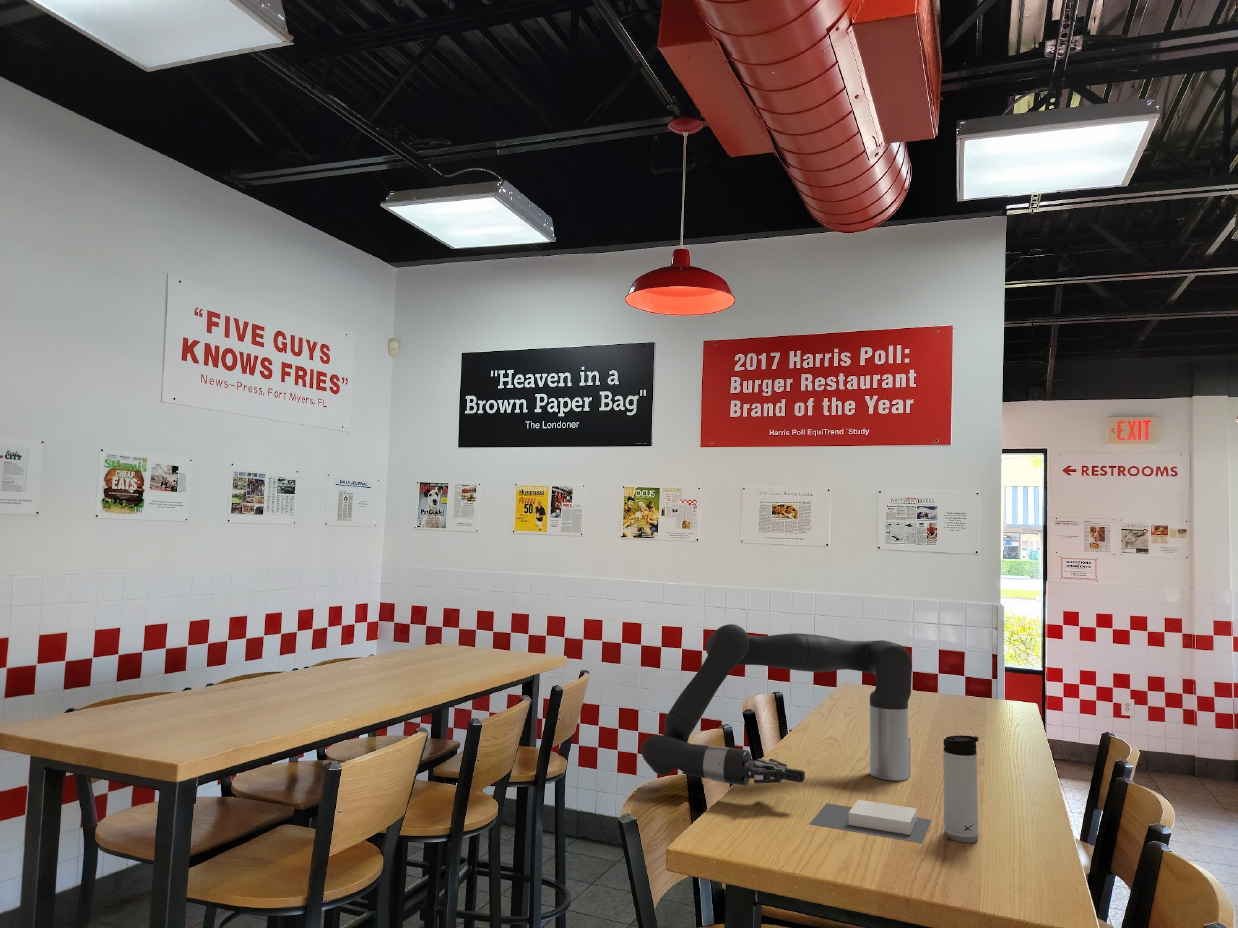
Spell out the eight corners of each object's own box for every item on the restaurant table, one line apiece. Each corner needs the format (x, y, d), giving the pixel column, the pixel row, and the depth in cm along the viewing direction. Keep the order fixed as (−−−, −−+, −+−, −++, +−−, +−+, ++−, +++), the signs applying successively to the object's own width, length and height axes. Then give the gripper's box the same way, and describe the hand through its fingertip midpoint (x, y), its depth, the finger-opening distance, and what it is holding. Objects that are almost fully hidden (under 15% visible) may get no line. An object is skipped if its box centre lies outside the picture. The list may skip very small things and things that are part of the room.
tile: (848, 812, 174) (910, 822, 169) (857, 799, 183) (916, 808, 177) (848, 825, 174) (910, 835, 168) (858, 812, 183) (916, 821, 177)
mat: (809, 826, 174) (809, 823, 174) (826, 805, 188) (826, 802, 189) (922, 845, 164) (922, 843, 164) (931, 821, 179) (931, 819, 179)
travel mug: (976, 845, 165) (975, 740, 167) (941, 838, 169) (940, 735, 170) (982, 836, 170) (980, 734, 172) (947, 830, 174) (946, 730, 176)
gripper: (717, 754, 185) (796, 765, 178) (737, 741, 197) (811, 752, 189) (717, 789, 185) (796, 802, 177) (736, 775, 196) (811, 786, 189)
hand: (803, 776), depth 183 cm, fingers closed
